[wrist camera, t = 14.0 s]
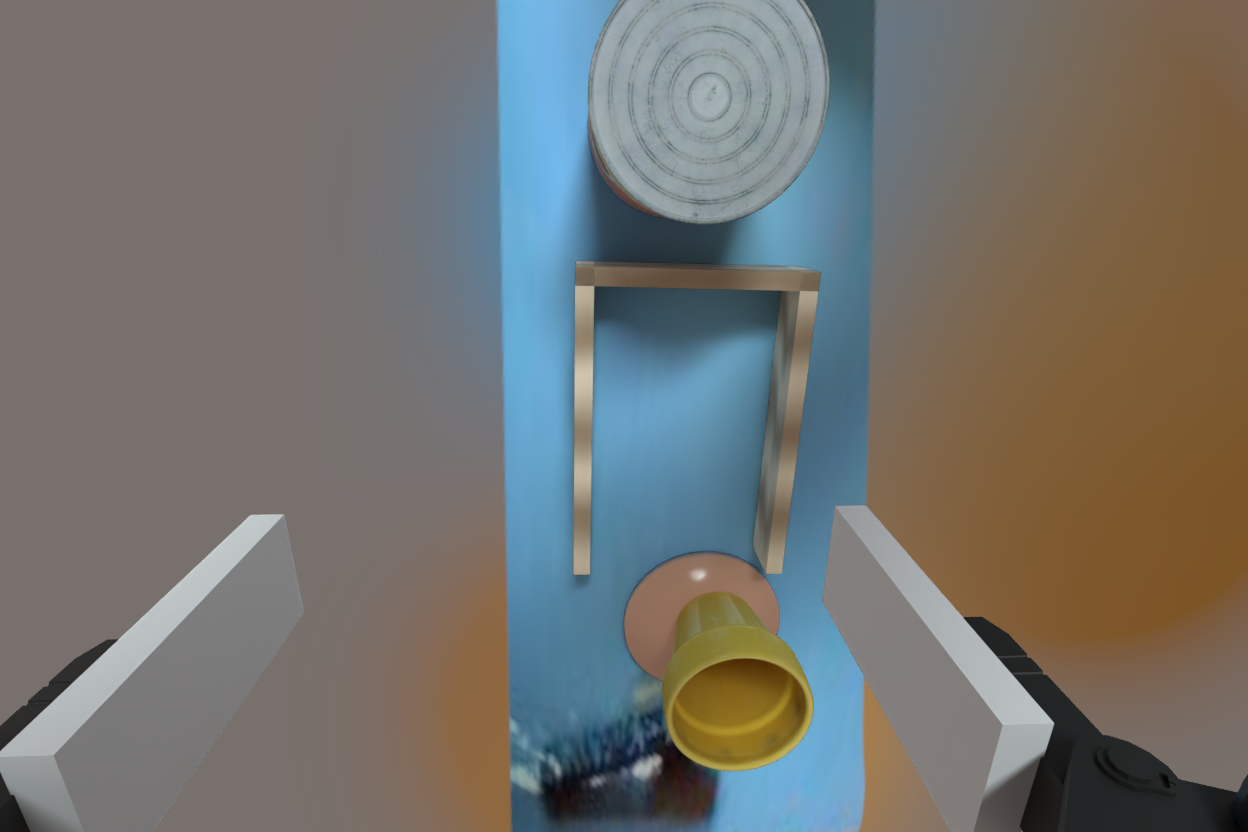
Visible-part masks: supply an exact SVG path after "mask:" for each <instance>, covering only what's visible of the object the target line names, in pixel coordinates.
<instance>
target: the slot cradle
mask: <svg viewBox="0 0 1248 832" xmlns="http://www.w3.org/2000/svg"><path fill="white" fill-rule="evenodd" d="M820 276H821V272H817V271H814V270H811V269H808V268H804V267H801V266H767V265H730V264H692V263H655V262H617V261H580V260H576V265H575V408H574V575H590V536H591V470H592V405H593V339H594V286H608V287H649V288H691V289H732V290H774V291H781V295H780V304H779V313H778V322H777V331H776V340H775V349H774V358H773V367H772V376H771V385H770V394H769V403H768V412H767V421H766V430H765V439H764V448H763V457H762V466H761V475H760V484H759V493H758V502H757V511H756V520H755V529H754V538H753V548H754V550H755V552H756V554H757V556H758V558H759V560H760V562H761V565H762V567H763V569H764V571H765V573H766V574H782V567H783V559H784V552H785V544H786V536H787V529H788V521H789V513H790V506H791V498H792V490H793V483H794V475H795V467H796V460H797V452H798V444H799V437H800V429H801V421H802V414H803V406H804V398H805V391H806V383H807V375H808V368H809V360H810V352H811V345H812V337H813V329H814V322H815V314H816V306H817V299H818V291H819V283H820Z"/></svg>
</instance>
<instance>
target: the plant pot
mask: <svg viewBox="0 0 1248 832" xmlns="http://www.w3.org/2000/svg"><path fill="white" fill-rule="evenodd" d="M662 692H663V706H664V714H665V721H666V726H667V730H668V732H669V735H670V737H671V739H672V741H673V742H674V744H675V745H676V747H677V748H678V749H679V750H680V751H681V752H682V753H683V754H684V755H685V756H687V757H688V758H689V759H691V760H693V761H694V762H696V763H698V764H700V765H702V766H705V767H708V768H712V769H716V770H723V771H744V770H751V769H755V768H759V767H762V766H765V765H768V764H770V763H773V762H775V761H777V760H778V759H780V758H782V757H783V756H785V755H786V754H788V753H789V752H790V751H791V750H792V749H794V748H795V747H796V746H797V745H798V743H799V742H800V741H801V740H802V739H803V737H804V736H805V734H806V732H807V730H808V728H809V726H810V724H811V721H812V717H813V709H814V704H813V696H812V692H811V689H810V686H809V683H808V681H807V678H806V676H805V674H804V672H803V669H802V667H801V665H800V663H799V661H798V659H797V658H796V656H795V654H794V652H793V651H792V650H791V648H790V647H789V646H788V645H787V644H786V643H785V642H784V641H783V640H782V639H781V638H779V637H778V636H776V635H775V634H773V633H771V632H769V630H768V629H767V628H766V626H765V625H764V624H763V623H762V621H761V620H760V619H759V617H758V616H757V615H756V613H755V612H754V611H753V609H752V608H751V607H750V605H749V604H748V603H747V602H746V601H744V600H743V599H742V598H740V597H738V596H736V595H734V594H731V593H727V592H710V593H706V594H703V595H700V596H698V597H696V598H694V599H693V600H691V601H690V602H689V603H688V604H687V605H686V606H685V607H684V608H683V609H682V611H681V612H680V614H679V616H678V619H677V623H676V630H675V638H674V647H673V655H672V657H671V659H670V660H669V662H668V664H667V667H666V669H665V672H664V676H663V683H662Z"/></svg>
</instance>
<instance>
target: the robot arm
mask: <svg viewBox="0 0 1248 832" xmlns="http://www.w3.org/2000/svg"><path fill="white" fill-rule="evenodd" d="M822 602H823V603H824V605H825V607H826V609H827V611H828V612H829V614H830V616H831V618H832V620H833V621H834V623H835V625H836V627H837V629H838V630H839V632H840V634H841V636H842V637H843V639H844V641H845V643H846V645H847V646H848V648H849V650H850V652H851V654H852V655H853V657H854V659H855V661H856V663H857V664H858V666H859V668H860V670H861V672H862V673H863V675H864V677H865V679H866V681H867V682H868V684H869V686H870V688H871V689H872V691H873V693H874V695H875V697H876V699H877V700H878V702H879V704H880V706H881V708H882V709H883V711H884V713H885V715H886V717H887V718H888V720H889V722H890V724H891V726H892V727H893V729H894V731H895V733H896V735H897V736H898V738H899V740H900V741H901V743H902V745H903V747H904V749H905V751H906V753H907V754H908V756H909V758H910V760H911V762H912V763H913V765H914V767H915V769H916V770H917V772H918V774H919V776H920V778H921V779H922V781H923V783H924V785H925V787H926V788H927V790H928V792H929V794H930V796H931V797H932V799H933V801H934V803H935V804H936V806H937V808H938V810H939V812H940V814H941V815H942V817H943V819H944V821H945V822H946V824H947V826H948V828H949V830H950V831H951V832H1021V829H1022V831H1023V832H1248V775H1247V776H1246V778H1245V779H1244V781H1243V783H1242V785H1241V787H1240V789H1239V791H1238V793H1237V792H1233V791H1228V790H1224V789H1219V788H1215V787H1211V786H1206V785H1202V784H1197V783H1193V782H1188V781H1183V780H1180V779H1178V778H1177V776H1176V775H1175V774H1174V773H1173V772H1172V771H1171V769H1170V768H1169V767H1168V766H1167V765H1165V764H1164V763H1163V762H1161V761H1160V760H1159V759H1157V758H1156V757H1155V756H1153V755H1152V754H1151V753H1149V752H1147V751H1145V750H1143V749H1141V748H1139V747H1138V746H1136V745H1134V744H1132V743H1130V742H1127V741H1124V740H1121V739H1118V738H1114V737H1111V736H1108V735H1102V734H1101V733H1100V732H1099V730H1098V729H1097V728H1096V727H1095V726H1094V725H1093V724H1092V723H1091V722H1090V721H1089V720H1088V719H1087V718H1086V717H1085V716H1084V714H1083V713H1082V712H1081V711H1080V710H1079V709H1078V708H1077V707H1076V706H1075V705H1074V704H1073V703H1072V702H1071V700H1070V699H1069V698H1068V697H1067V696H1066V695H1065V694H1064V693H1063V692H1062V691H1061V690H1060V689H1059V688H1058V687H1057V686H1056V684H1055V683H1054V682H1053V681H1052V680H1051V679H1050V678H1049V677H1048V676H1047V675H1043V672H1042V670H1041V668H1039V666H1038V665H1037V664H1036V663H1035V662H1034V661H1033V660H1032V659H1031V658H1028V657H1027V653H1026V652H1024V650H1023V649H1022V648H1021V647H1020V646H1019V645H1018V644H1017V643H1016V642H1015V641H1014V640H1013V639H1012V637H1011V636H1010V635H1009V634H1008V633H1006V632H1004V631H1003V630H1001V629H1000V628H998V627H997V626H995V625H994V624H992V623H991V622H989V621H988V620H986V619H985V618H983V617H962V616H961V615H960V614H959V613H958V611H957V610H956V609H955V608H954V607H953V606H952V604H951V603H950V602H949V601H948V600H947V599H946V597H945V596H944V595H943V594H942V593H941V592H940V591H939V589H938V588H937V587H936V586H935V585H934V584H933V582H932V581H931V580H930V579H929V578H928V577H927V575H926V574H925V573H924V572H923V571H922V570H921V569H920V567H919V566H918V565H917V564H916V563H915V562H914V561H913V559H912V558H911V557H910V556H909V555H908V554H907V552H906V551H905V550H904V549H903V548H902V547H901V545H900V544H899V543H898V542H897V541H896V540H895V539H894V537H893V536H892V535H891V534H890V533H889V532H888V530H887V529H886V528H885V527H884V526H883V525H882V523H881V522H880V521H879V520H878V519H877V518H876V516H875V515H874V514H873V513H872V512H871V511H870V510H869V508H868V507H867V506H866V505H856V506H835V510H834V517H833V524H832V532H831V539H830V546H829V554H828V561H827V568H826V576H825V583H824V590H823V598H822ZM303 613H304V611H303V605H302V600H301V595H300V590H299V585H298V580H297V576H296V571H295V566H294V561H293V556H292V551H291V546H290V541H289V536H288V531H287V526H286V521H285V516H284V515H250V516H249V517H248V518H247V519H246V520H245V521H244V522H243V523H242V524H241V525H240V526H239V527H238V528H237V529H235V531H233V532H232V533H231V534H230V535H229V536H228V537H227V538H226V539H225V540H224V541H223V542H222V543H221V544H220V545H219V546H217V547H216V548H215V549H214V550H213V551H212V552H211V553H210V554H209V555H208V556H207V557H206V558H205V559H204V560H203V561H201V562H200V563H199V564H198V565H197V566H196V567H195V568H194V569H193V570H192V571H191V572H190V573H189V574H188V575H187V576H186V577H184V579H182V581H180V582H179V583H178V584H177V585H176V586H175V587H174V588H173V589H172V590H171V591H170V592H169V593H168V594H166V595H165V596H164V597H163V598H162V599H161V600H160V601H159V602H158V603H157V604H156V605H155V606H154V607H153V608H152V609H151V610H149V611H148V612H147V613H146V614H145V615H144V616H143V617H142V618H141V619H140V620H139V621H138V622H137V623H136V624H135V625H134V626H133V627H131V628H130V629H129V630H128V631H127V632H126V633H125V634H124V635H123V636H122V637H121V638H120V639H118V640H117V639H116V640H114V639H113V640H106V641H104V642H103V643H101V644H99V645H98V646H96V647H94V648H93V649H91V650H89V651H88V652H86V653H84V654H82V655H81V656H79V657H77V658H76V659H74V660H73V661H72V662H71V663H70V664H69V665H68V666H66V667H65V668H64V669H63V670H62V671H61V672H60V673H59V674H58V675H57V676H55V677H54V678H53V679H52V680H51V681H50V682H49V685H48V687H43V688H42V689H41V690H40V691H39V692H38V693H37V694H35V695H34V696H33V697H32V698H31V699H30V700H29V701H28V704H27V706H22V707H21V708H20V709H19V710H18V711H16V712H15V713H14V714H13V715H12V716H11V717H10V718H9V719H8V720H7V721H6V722H4V723H3V724H2V725H1V726H0V832H153V831H154V830H155V828H156V827H157V825H158V824H159V822H160V821H161V819H162V818H163V816H164V815H165V814H166V812H167V811H168V809H169V808H170V806H171V805H172V803H173V802H174V800H175V799H176V797H177V796H178V795H179V793H180V792H181V790H182V789H183V787H184V786H185V785H186V783H187V782H188V780H189V779H190V777H191V776H192V774H193V773H194V771H195V770H196V768H197V767H198V765H199V764H200V763H201V761H202V760H203V758H204V757H205V755H206V754H207V753H208V751H209V750H210V748H211V747H212V745H213V744H214V742H215V741H216V739H217V738H218V737H219V735H220V734H221V732H222V731H223V729H224V728H225V726H226V725H227V724H228V722H229V721H230V719H231V718H232V716H233V715H234V713H235V712H236V710H237V709H238V708H239V706H240V705H241V703H242V702H243V700H244V699H245V697H246V696H247V694H248V693H249V692H250V690H251V689H252V687H253V686H254V684H255V682H256V681H257V680H258V679H259V677H260V676H261V674H262V673H263V671H264V670H265V668H266V667H267V665H268V664H269V662H270V661H271V660H272V658H273V657H274V655H275V654H276V652H277V651H278V649H279V648H280V647H281V645H282V644H283V642H284V641H285V639H286V638H287V636H288V635H289V633H290V632H291V631H292V629H293V628H294V626H295V625H296V623H297V622H298V620H299V619H300V617H301V616H302V615H303Z"/></svg>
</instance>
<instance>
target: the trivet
mask: <svg viewBox="0 0 1248 832" xmlns="http://www.w3.org/2000/svg"><path fill="white" fill-rule="evenodd" d="M710 592H727V593H731V594H734V595H736V596H738V597H740V598H742V599H743V600H744V601H746V602H747V603H748V604H749V605H750V607H751V608H752V609H753V611H754V612H755V613H756V615H757V616H758V617H759V619H760V620H761V621H762V623H763V624H764V625H765V626H766V628H767V629H768V630H769V632H771V633H773V634H775V635H777V632H778V628H779V621H780V613H779V606H778V602H777V599H776V596H775V594H774V592H773V590H772V588H771V586H770V584H769V582H768V581H767V579H766V578H765V577H764V575H763V574H762V573H761V572H760V571H759V570H758V569H756V568H755V567H754V566H752V565H751V564H750V563H748V562H746V561H744V560H743V559H740V558H738V557H735V556H733V555H729V554H725V553H719V552H694V553H688V554H684V555H680V556H677V557H674V558H672V559H670V560H667V561H665V562H663V563H662V564H660V565H658V566H657V567H655V568H654V569H652V570H651V571H650V572H649V573H647V574H646V575H645V576H644V577H643V578H642V579H641V580H640V582H639V583H638V584H637V586H636V587H635V588H634V590H633V592H632V593H631V595H630V597H629V600H628V602H627V605H626V609H625V614H624V629H625V638H626V642H627V646H628V648H629V650H630V653H631V654H632V656H633V657H634V659H635V661H636V662H637V663H638V664H639V665H640V666H641V667H642V668H643V669H644V670H645V671H646V672H647V673H649V674H650V675H652V676H653V677H655V678H657V679H659V680H661V681H663V676H664V672H665V669H666V667H667V664H668V662H669V660H670V659H671V657H672V655H673V647H674V638H675V630H676V623H677V619H678V616H679V614H680V612H681V611H682V609H683V608H684V607H685V606H686V605H687V604H688V603H689V602H690V601H691V600H693V599H694V598H696V597H698V596H700V595H703V594H706V593H710Z"/></svg>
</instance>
